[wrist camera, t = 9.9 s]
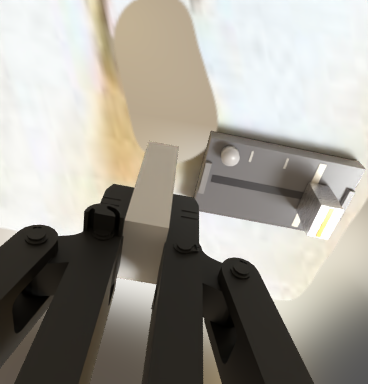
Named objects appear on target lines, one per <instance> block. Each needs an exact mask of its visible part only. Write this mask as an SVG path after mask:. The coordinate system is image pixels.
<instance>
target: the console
mask: <svg viewBox="0 0 368 384" xmlns="http://www.w3.org/2000/svg"><path fill="white" fill-rule="evenodd" d="M365 170H366V169H365V168H364V167H363V166H362V164H361V163H360V162H359V161H355V160H350V159H345V158H340V157H336V156H331V155H326V154H321V153H316V152H311V151H306V150H301V149H297V148H292V147H287V146H282V145H277V144H272V143H267V142H262V141H258V140H253V139H248V138H243V137H238V136H233V135H228V134H224V133H219V132H214V131H211V132H210V136H209V140H208V144H207V148H206V152H205V155H204V159H203V163H202V167H201V171H200V175H199V179H198V182H197V186H196V190H195V194H194V198H195V200H196V201H197V203H198V205H199V211H201V212H206V213H212V214H217V215H222V216H228V217H233V218H238V219H244V220H249V221H255V222H260V223H265V224H271V225H276V226H281V227H287V228H292V229H297V230H303V231H305V230H304V228H303V226H302V223H301V221H300V219H299V216H298V214H297V211H296V209H297V207H298V205H299V203H300V200H301V198H302V196H303V194H304V192H305V189H306V187H307V185H308V183H309V182H312V183H317V184H322V185H327V186H329V187H330V188H331V190H332V192H333V193H334V195H335V196H336V198H337V200H338V201H339V203H340V204H341V206H342V207H343V209H344V211H343V213H342V214H341V216H340V218H339V220H340V219H341V218H342V216H343V214H344V212H345V210H346V209H347V207H348V205H349V203H350V201H351V199H352V198H353V196H354V194H355V191H354V190H355V188H356V186H357V185H358V183H359V181H360V179H361V177H362V175H363V174H364V172H365Z"/></svg>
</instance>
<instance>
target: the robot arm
mask: <svg viewBox="0 0 368 384" xmlns="http://www.w3.org/2000/svg"><path fill="white" fill-rule="evenodd" d="M177 157H178V147H177V146H172V145H167V144H162V143H157V142H152V141H149V142H148V146H147V149H146V152H145V155H144V159H143V162H142V165H141V168H140V172H139V175H138V178H137V181H136V185H135V188H133V187H128V186H122V185H117V184H113V185H112V186H110V187H109V188H107V189H106V191H105V193H104V196H103V198H102V200H101V203H100V204H94V205H92V206H90V207H88V208H87V209H86V210H85V211H84V228H83V232H82V233H79V234H76V235H69V236H58V233H57V232H56V231H55V229H53V228H51V227H49V226H45V225H32V226H28V227H25V228H23V229H21V230H20V231H18V232H17V233H16V234H15V235H14V236H12V237H11V238H10V239H9V240H8V241H6V242H5V243H4V244H3V245H2V246H1V247H0V368H1V367H2V365H3V364H4V363H5V361H6V360H7V359H8V358H9V356H10V355H11V354H12V353H13V352H14V350H15V349H16V348H17V347H18V345H19V344H20V343H21V341H22V340H23V339H24V338H25V336H26V335H27V334H28V332H29V331H30V330H31V329H32V328H33V326H34V325H35V324H36V323H37V321H38V320H39V319H40V317H41V316H42V315H43V314H44V312H45V311H46V310H47V309H48V310H47V312H46V315H45V317H44V319H43V321H42V323H41V326H40V328H39V330H38V332H37V334H36V337H35V339H34V341H33V343H32V346H31V348H30V350H29V352H28V354H27V357H26V359H25V361H24V363H23V365H22V368H21V370H20V372H19V374H18V376H17V379H16V381H15V383H14V384H90V381H91V377H92V374H93V370H94V366H95V362H96V359H97V354H98V351H99V347H100V344H101V339H102V336H103V332H104V328H105V325H106V321H107V317H108V313H109V309H110V306H111V302H112V298H113V294H114V291H115V285H116V278H122V279H128V280H134V281H140V282H146V283H152V284H157V285H156V290H155V294H154V299H153V303H152V308H151V309H152V314H151V322H150V328H149V335H148V342H147V349H146V356H145V363H144V370H143V377H142V384H203V317H204V322H205V325H206V329H207V332H208V336H209V340H210V343H211V347H212V350H213V354H214V357H215V361H216V364H217V368H218V372H219V375H220V379H221V382H222V384H314V382H313V381H312V378H311V377H310V375H309V373H308V370H307V369H306V366H305V364H304V362H303V360H302V358H301V356H300V354H299V352H298V350H297V348H296V346H295V344H294V343H293V340H292V338H291V336H290V334H289V332H288V330H287V328H286V326H285V324H284V322H283V320H282V318H281V316H280V314H279V312H278V310H277V308H276V306H275V304H274V302H273V300H272V298H271V296H270V294H269V292H268V290H267V288H266V286H265V284H264V282H263V280H262V278H261V276H260V274H259V272H258V270H257V269H256V268H255V266H254V265H252V264H251V263H250V262H248V261H246V260H244V259H241V258H228V259H227V260H225V261H224V262H223V263H221V262H219V261H216V260H214V259H212V258H210V257H209V256H207V255H206V254H205V253H204V252H203V251H202V248H201V246H200V244H199V205H198V203H197V201H196V200H195V198H192V197H186V196H181V195H176V194H173V190H174V182H175V173H176V165H177ZM48 307H49V308H48Z"/></svg>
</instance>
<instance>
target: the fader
mask: <svg viewBox="0 0 368 384" xmlns="http://www.w3.org/2000/svg"><path fill="white" fill-rule="evenodd" d="M296 211H297V214H298V216H299V219H300V221H301V223H302V226H303V228H304V230H305V233H306V235H307V236H312V237H317V238H322V239H328V238H329V236H330V235H331V233H332V231H333V229H334V227H335V225H336V224H337V222H338V220H339V218H340V216H341V214H342V213H343V211H344V209H343V207H342V206H341V204H340V203H339V201H338V200H337V198H336V196H335V195H334V193H333V192H332V190H331V188H330V187H329V186H327V185H322V184H317V183H312V182H309V183H308V185H307V187H306V189H305V192H304V194H303V196H302V198H301V200H300V203H299V205H298V207H297V209H296Z"/></svg>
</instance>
